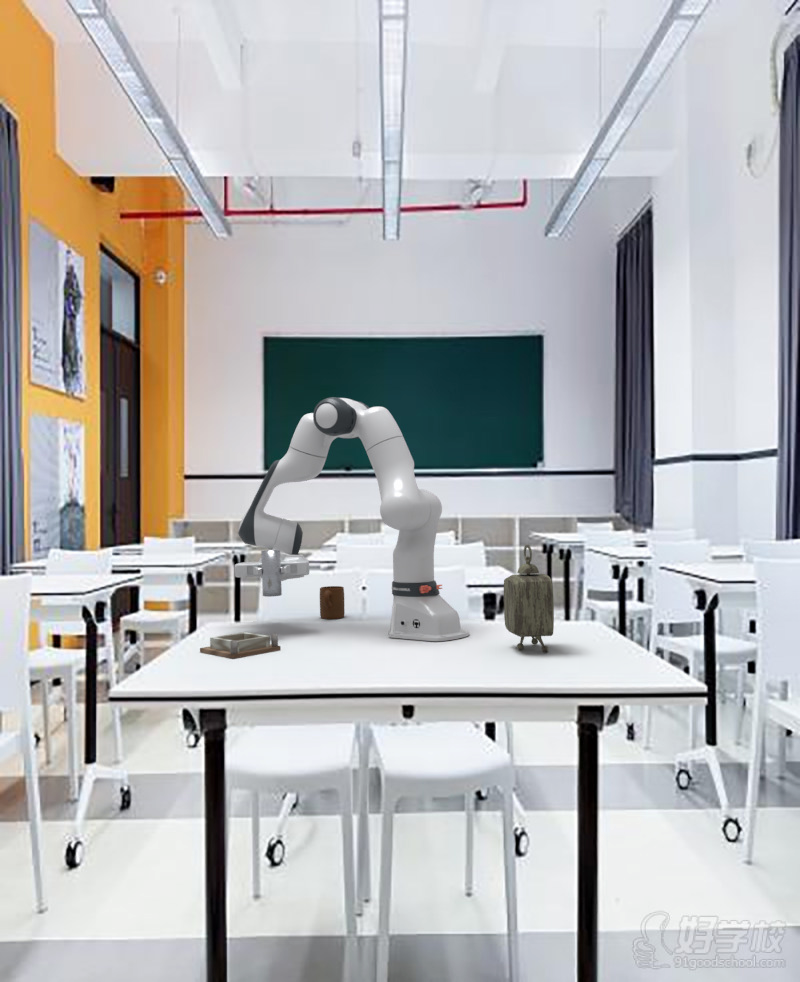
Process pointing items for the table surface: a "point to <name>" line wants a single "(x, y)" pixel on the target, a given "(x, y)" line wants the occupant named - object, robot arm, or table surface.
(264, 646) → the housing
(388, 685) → the table surface
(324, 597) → the mug
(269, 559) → the pin
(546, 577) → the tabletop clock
